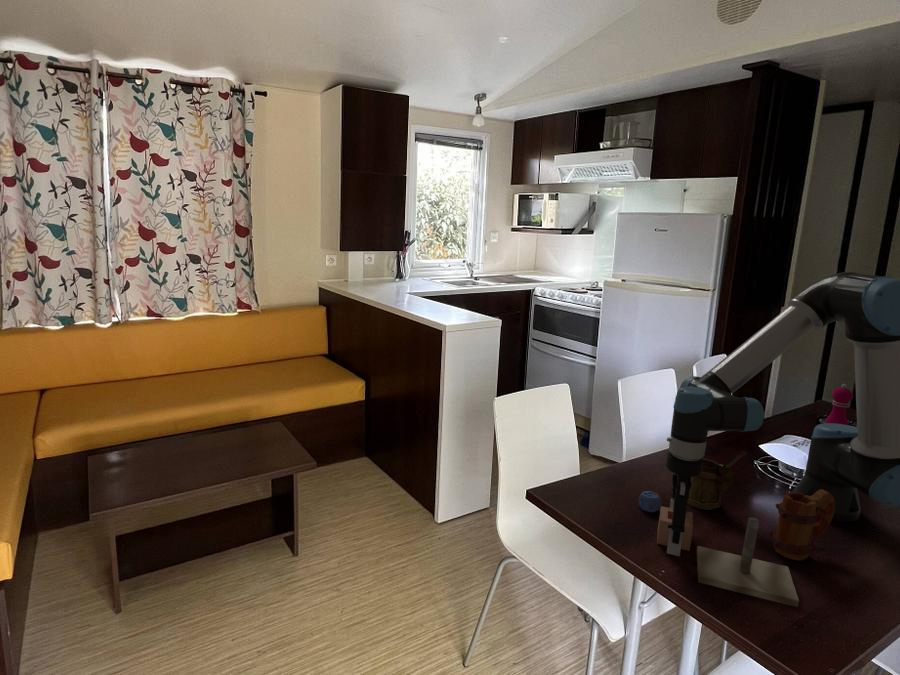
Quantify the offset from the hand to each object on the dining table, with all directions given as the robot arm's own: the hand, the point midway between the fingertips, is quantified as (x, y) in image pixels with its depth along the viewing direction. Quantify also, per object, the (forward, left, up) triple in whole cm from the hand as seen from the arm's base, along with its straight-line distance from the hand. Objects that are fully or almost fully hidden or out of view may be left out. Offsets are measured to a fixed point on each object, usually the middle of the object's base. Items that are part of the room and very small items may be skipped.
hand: (673, 538), depth 132 cm
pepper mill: (-54, -98, 0) cm, 112 cm away
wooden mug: (-9, -22, 0) cm, 24 cm away
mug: (-27, -7, 0) cm, 28 cm away
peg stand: (-14, +9, 0) cm, 17 cm away
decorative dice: (+6, -13, 0) cm, 14 cm away
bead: (0, 0, 0) cm, 0 cm away
